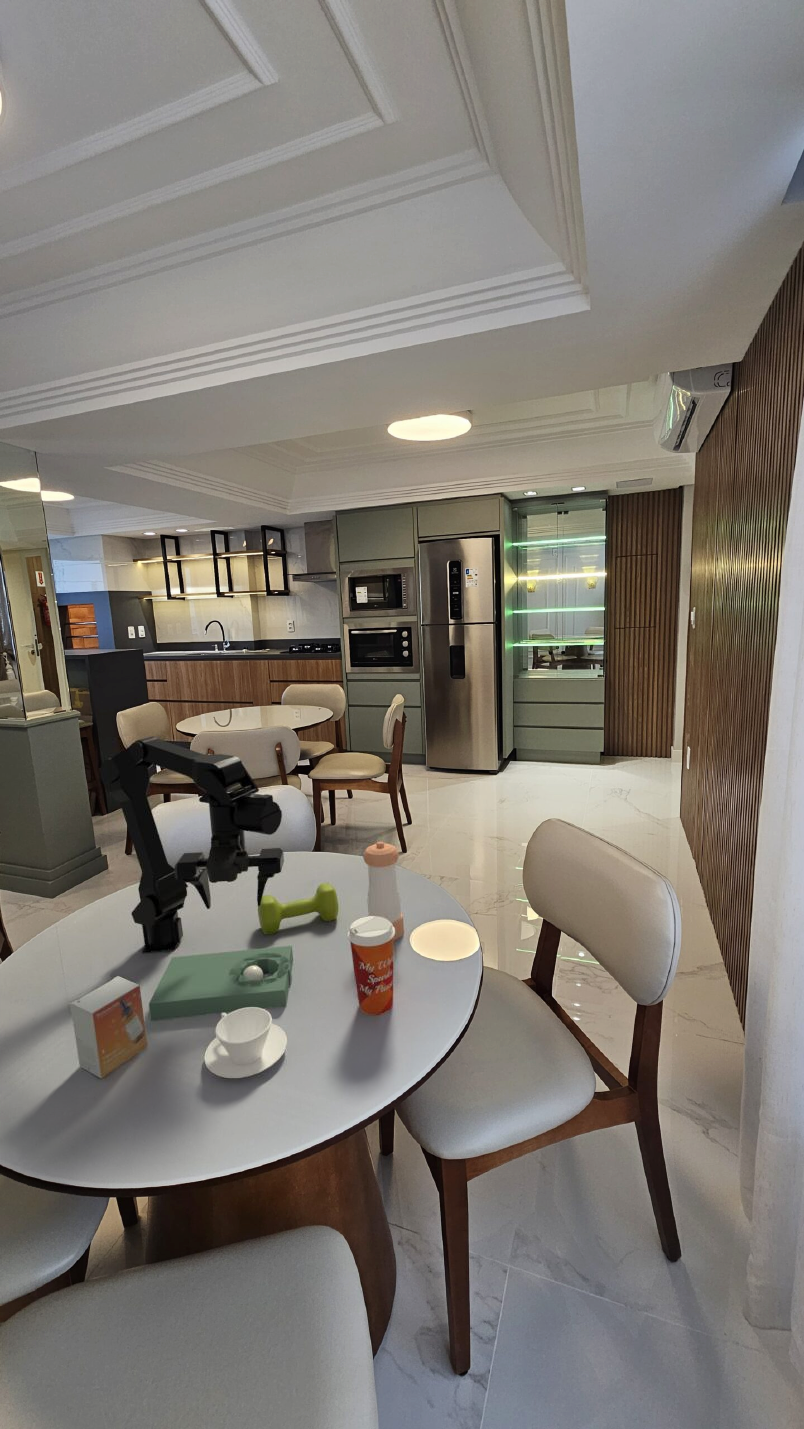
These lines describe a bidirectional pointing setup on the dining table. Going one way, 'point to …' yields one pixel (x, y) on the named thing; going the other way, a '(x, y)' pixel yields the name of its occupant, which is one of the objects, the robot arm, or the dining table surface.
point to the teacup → (245, 1043)
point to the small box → (109, 1026)
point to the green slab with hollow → (222, 983)
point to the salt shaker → (384, 885)
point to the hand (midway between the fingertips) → (234, 906)
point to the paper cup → (373, 963)
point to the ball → (253, 973)
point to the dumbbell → (297, 908)
